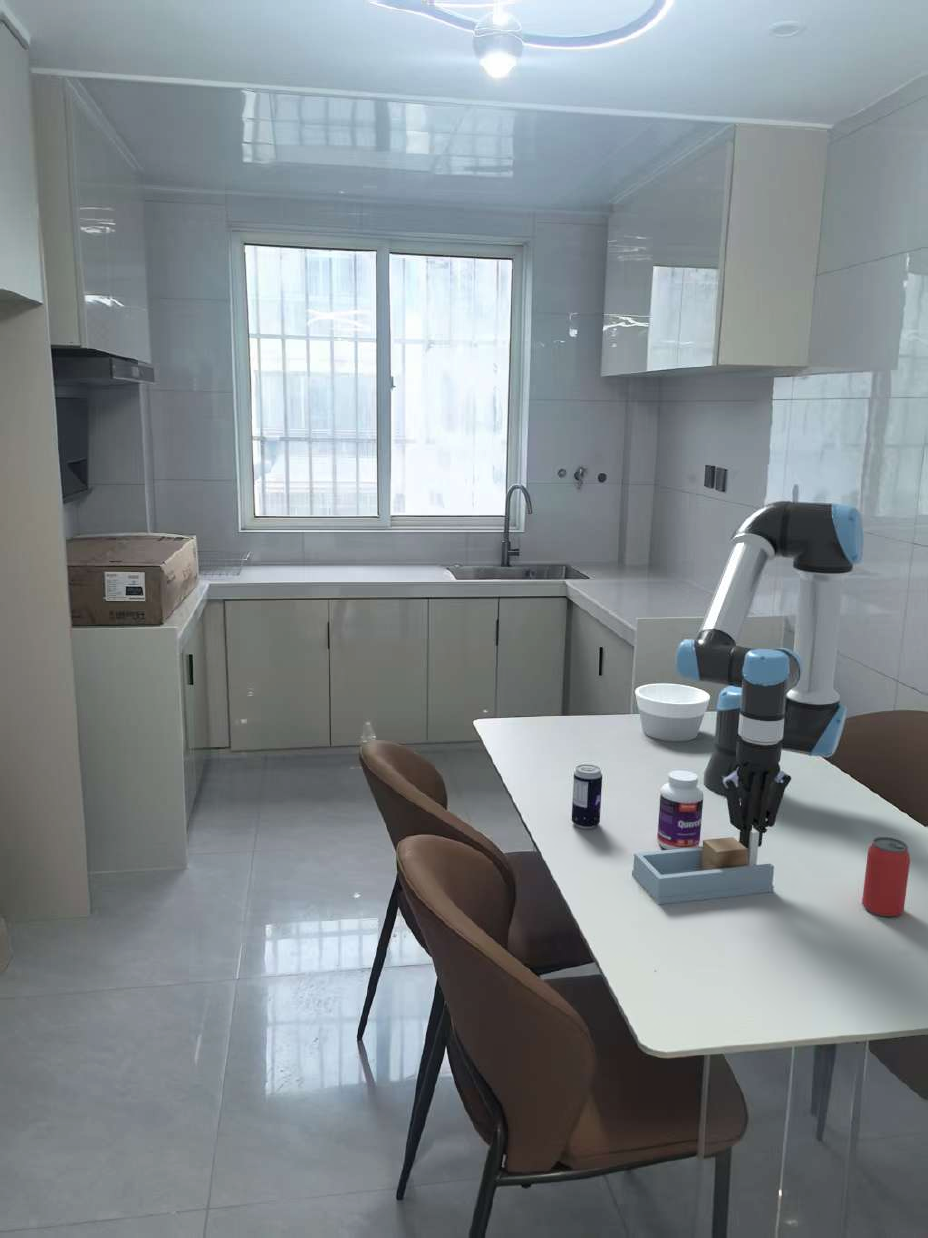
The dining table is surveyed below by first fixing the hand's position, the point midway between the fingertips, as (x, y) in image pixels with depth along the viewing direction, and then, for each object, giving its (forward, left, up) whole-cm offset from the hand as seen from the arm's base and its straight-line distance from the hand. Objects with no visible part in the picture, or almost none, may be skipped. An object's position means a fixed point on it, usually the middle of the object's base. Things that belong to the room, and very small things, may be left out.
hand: (748, 863), depth 175 cm
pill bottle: (+6, -15, -3) cm, 17 cm away
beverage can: (+20, -28, -3) cm, 35 cm away
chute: (+9, 0, -3) cm, 9 cm away
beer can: (-17, +15, -3) cm, 23 cm away
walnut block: (+5, 0, -2) cm, 5 cm away
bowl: (-24, -79, -3) cm, 83 cm away
